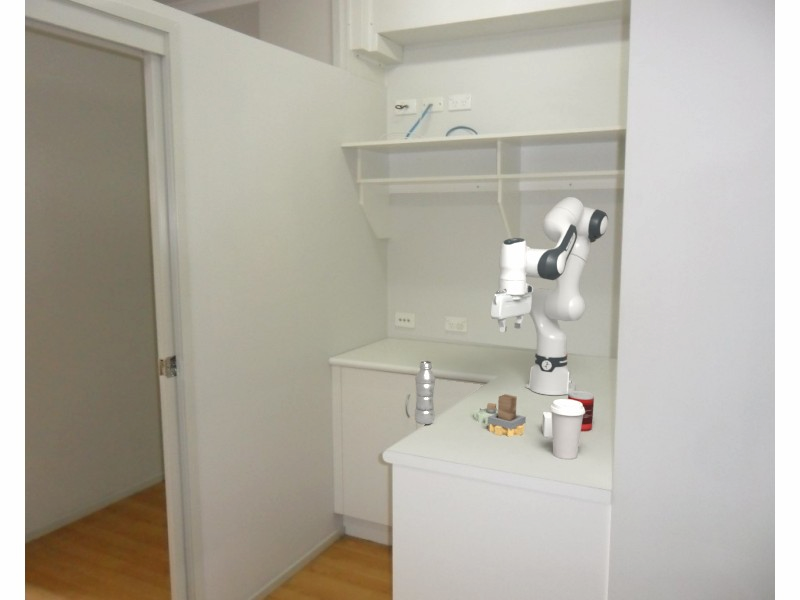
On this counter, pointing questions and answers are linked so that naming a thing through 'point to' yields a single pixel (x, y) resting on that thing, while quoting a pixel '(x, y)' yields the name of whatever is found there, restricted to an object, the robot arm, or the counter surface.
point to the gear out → (506, 425)
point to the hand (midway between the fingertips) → (510, 329)
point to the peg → (507, 407)
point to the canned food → (588, 404)
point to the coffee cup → (566, 427)
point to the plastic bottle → (425, 394)
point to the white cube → (547, 424)
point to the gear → (485, 413)
